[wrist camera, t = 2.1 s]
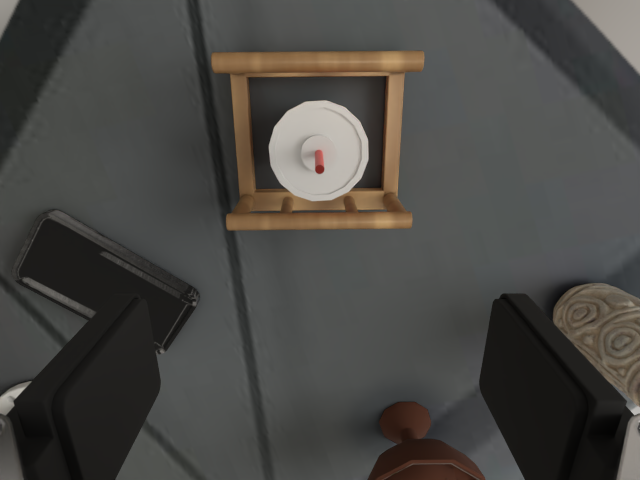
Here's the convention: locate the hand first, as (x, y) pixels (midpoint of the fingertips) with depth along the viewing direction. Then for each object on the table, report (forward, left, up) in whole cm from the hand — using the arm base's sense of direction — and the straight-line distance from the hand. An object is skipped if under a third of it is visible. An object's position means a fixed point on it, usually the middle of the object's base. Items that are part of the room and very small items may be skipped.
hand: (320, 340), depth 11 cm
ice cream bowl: (+9, -28, -25) cm, 38 cm away
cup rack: (0, +2, -25) cm, 25 cm away
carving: (+25, -14, -25) cm, 38 cm away
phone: (-19, -11, -25) cm, 33 cm away
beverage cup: (0, +2, -25) cm, 25 cm away
